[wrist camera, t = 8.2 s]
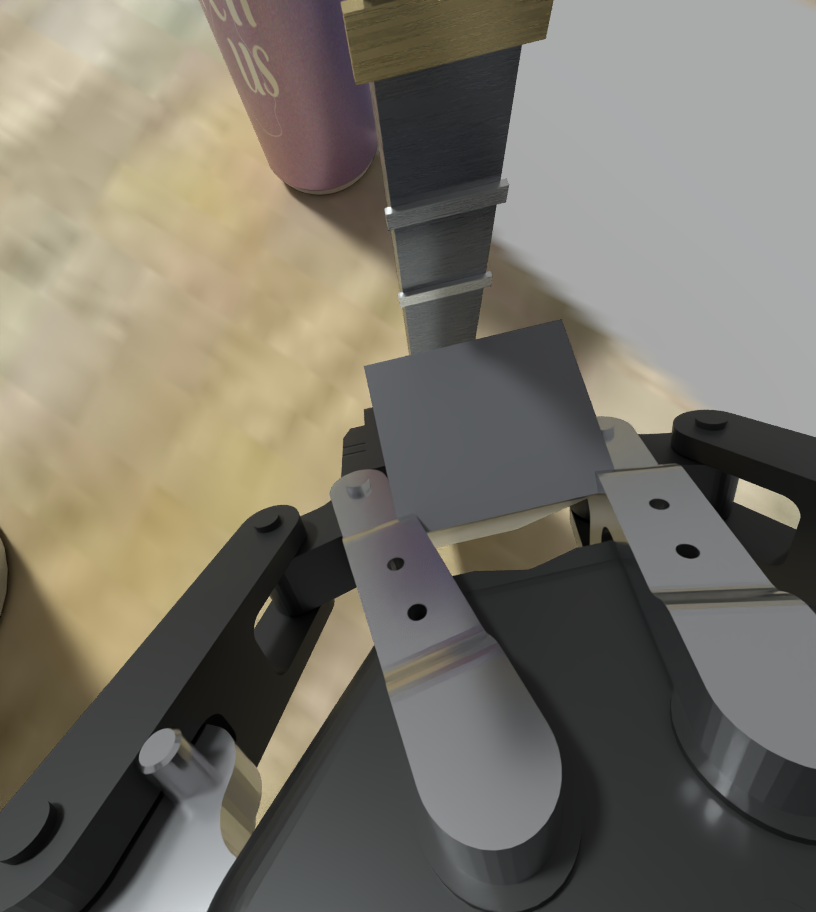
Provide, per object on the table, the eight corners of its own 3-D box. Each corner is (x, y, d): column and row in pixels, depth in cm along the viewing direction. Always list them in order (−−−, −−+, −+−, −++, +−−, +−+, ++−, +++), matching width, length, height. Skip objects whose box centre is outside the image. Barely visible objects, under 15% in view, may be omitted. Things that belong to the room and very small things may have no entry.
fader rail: (479, 450, 19) (771, -389, 2) (412, 466, 19) (208, -241, 2) (467, 408, 19) (635, -529, 3) (402, 423, 19) (178, -404, 3)
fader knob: (518, 530, 16) (621, 487, 7) (423, 552, 16) (401, 538, 7) (495, 451, 17) (561, 319, 8) (404, 472, 17) (363, 366, 8)
